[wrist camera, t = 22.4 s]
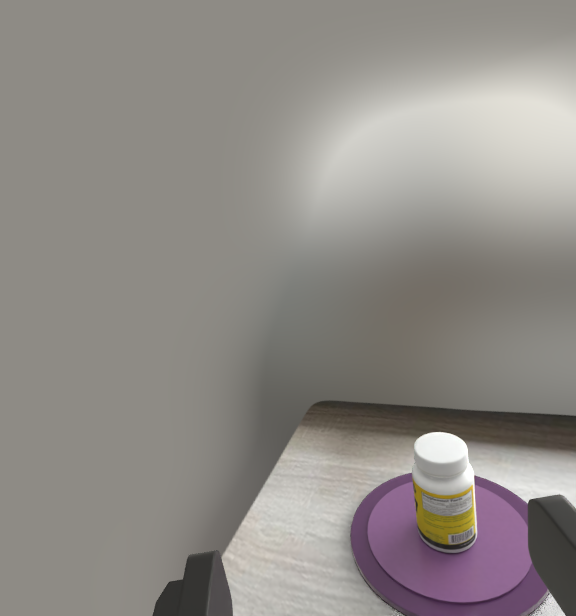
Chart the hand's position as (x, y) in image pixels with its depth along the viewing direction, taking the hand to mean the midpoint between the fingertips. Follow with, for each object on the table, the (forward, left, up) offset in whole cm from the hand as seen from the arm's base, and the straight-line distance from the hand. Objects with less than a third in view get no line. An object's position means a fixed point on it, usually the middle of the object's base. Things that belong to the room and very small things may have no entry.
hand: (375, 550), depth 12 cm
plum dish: (+5, +22, -22) cm, 32 cm away
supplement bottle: (+5, +22, -22) cm, 31 cm away
